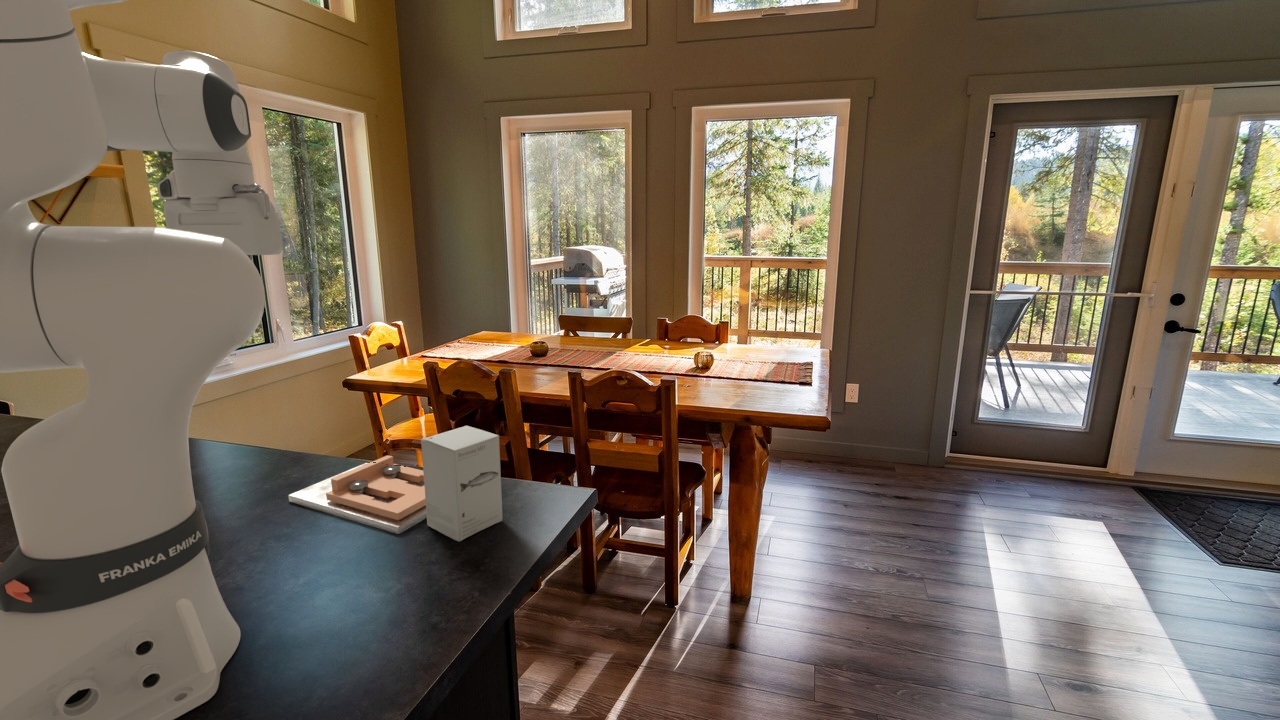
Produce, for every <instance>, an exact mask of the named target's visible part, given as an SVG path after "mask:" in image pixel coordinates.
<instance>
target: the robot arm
mask: <svg viewBox="0 0 1280 720" xmlns="http://www.w3.org/2000/svg"><path fill="white" fill-rule="evenodd" d="M124 2H129V0H0V374H6V373H18V372H19V373H20V372H32V371H33V372H34V371H45V370H59V369H84V371H85V375H86V379H87V391H86V395H85V398H84V399H83V400H81V401H79V402H77V403H75V404H73V405H70V406H68V407H66V408H64V409H62V410H60V411H58V412H56V413H54V414H53V415H50V416H48V417H47V418H45V419H43V420H41V421H39V422H38V423H35V424H33V425H32V426H30V427H29V428H28V429H26V430H25V431H23V432H22V433H21V434H20V435H18V436H17V437H16V439H15V440H14V441H13V442H12V443H11V444H10V445H9V447H8V448H7V451H6V452H5V455H4V457H3V459H2V464H1V469H0V470H1V475H2V479H3V483H4V488H5V492H6V496H7V499H8V503H9V507H10V512H11V514H12V515H11V516H12V520H13V523H14V527H15V532H16V536H17V539H18V543H19V544H18V545H17V546H16V548H15V549H14V551H13V552H12V553H11V554H10V555H9V556H8V557H7V559H6V560H4V561H3V562H0V720H175V719H177V718H179V717H181V716H182V715H185V714H186V713H188V712H189V711H192V710H194V709H195V708H197V707H199V706H201V705H202V704H204V703H206V702H208V701H209V700H211V698H213V696H215V695H216V693H217V691H218V689H219V685H220V679H221V672H222V670H223V669H224V667H225V666H226V665H227V663H228V662H229V660H230V659H231V658H232V656H233V655H234V654H235V652H236V650H237V648H238V646H239V643H240V641H241V636H242V635H241V633H242V632H241V629H240V627H239V624H238V623H237V622H236V620H235V619H234V617H233V616H232V614H231V613H230V611H229V609H228V608H227V606H226V603H225V601H224V600H223V597H222V594H221V593H220V590H219V588H218V585H217V582H216V579H215V577H214V574H213V571H212V568H211V567H212V566H211V563H210V561H209V557H208V556H209V555H210V553H211V552H210V551H211V546H210V545H211V544H210V540H209V529H208V524H207V521H206V519H205V518H206V517H205V514H204V508H203V505H202V503H201V502H200V501H199V500H197V499H195V493H194V486H193V479H192V469H191V460H190V459H191V458H190V446H189V445H190V444H189V442H190V441H189V425H190V418H191V415H192V414H191V413H192V410H193V408H194V407H193V406H194V404H195V401H196V400H197V396H198V395H199V392H200V391H201V390H202V387H203V385H204V384H205V382H206V381H207V380H208V378H209V376H210V375H211V374H212V373H213V371H214V370H216V368H218V366H219V365H220V364H221V363H222V362H223V361H224V360H225V359H226V358H227V357H229V355H231V354H233V352H235V351H236V350H238V349H239V348H240V347H242V346H243V345H244V344H245V343H246V342H247V341H248V340H249V339H250V338H251V336H252V335H254V333H255V332H256V330H257V328H258V327H259V325H260V323H261V321H262V318H263V315H264V312H265V310H264V309H265V305H266V294H265V286H264V283H263V280H262V277H261V275H260V273H259V270H258V268H257V267H256V265H255V263H254V262H253V260H252V259H251V258H250V257H249V256H272V255H273V256H277V255H280V254H281V252H282V250H283V246H284V243H283V236H282V232H281V227H280V222H279V219H278V215H277V211H276V208H275V206H274V204H273V202H271V200H270V197H269V194H268V193H267V192H266V191H265V190H264V189H263V188H262V186H261V185H260V184H256V182H255V176H254V168H253V163H252V160H251V157H250V155H249V153H248V149H247V142H248V141H249V140H250V138H251V137H252V130H251V123H250V116H249V109H248V104H247V101H246V99H245V97H244V95H242V94H241V92H240V87H239V84H238V81H237V79H236V75H235V72H234V70H233V68H232V67H231V66H230V65H229V64H228V63H227V62H225V61H224V60H222V59H220V58H218V57H216V56H213V55H212V54H211V55H210V54H208V53H204V52H201V51H196V50H185V49H184V50H181V49H180V50H173V51H169V52H167V53H165V54H164V55H163V57H162V61H161V63H162V64H153V63H152V64H151V63H144V62H143V63H140V62H133V61H131V62H130V61H121V60H111V59H106V58H101V57H98V56H94V55H91V54H88V53H85V52H84V51H83V50H82V47H81V44H80V41H79V37H78V35H77V31H76V28H75V26H74V22H73V19H72V16H71V13H70V12H71V11H73V10H78V9H82V8H83V9H84V8H87V7H93V6H94V7H95V6H101V5H102V6H103V5H112V4H113V5H114V4H118V3H124ZM130 150H131V151H142V152H143V151H146V152H164V153H165V152H168V153H172V154H171V161H172V167H173V169H172V170H171V171H170V172H169V174H168V175H167V176H165V177H164V179H162V180H161V181H159V182H158V183H157V186H156V190H157V195H158V197H159V198H160V199H161V200H166V201H165V202H164V204H163V215H164V220H165V225H166V226H165V227H162V226H95V225H94V226H89V225H88V226H87V225H86V226H83V225H81V226H80V225H79V226H78V225H77V226H75V225H73V226H71V225H70V226H69V225H66V226H64V225H54V224H47V223H46V224H44V223H41V222H40V221H38V220H37V219H36V217H35V216H34V214H33V213H32V211H31V209H30V206H29V203H28V202H30V201H32V200H35V199H37V198H39V197H42V196H46V195H49V194H52V193H54V192H57V191H60V190H62V189H65V188H67V187H68V186H72V185H73V184H75V183H77V182H79V181H81V180H82V179H84V178H85V177H87V176H89V175H90V174H91V173H92V172H93V171H94V170H96V169H97V168H98V167H99V166H100V164H101V163H102V161H103V160H104V158H105V156H106V153H107V152H114V151H115V152H117V151H118V152H119V151H130ZM248 255H249V256H248Z"/></svg>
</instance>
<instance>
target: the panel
mask: <svg viewBox="0 0 1280 720" xmlns="http://www.w3.org/2000/svg"><path fill="white" fill-rule="evenodd" d="M369 462H370V463H368V464H365V465H363V466H361V467H358V468H356V469H354V470H351V471H349V472H346V473H344V474H342V475H339V476H337V477H334V478H332V479H331V484H332V491H330V492H328V493H326V498H327V500H329V501H333V502H336V503H340V504H343V505H347V506H350V507H354V508H357V509H361V510H364V511H368V512H371V513H375V514H378V515H382V516H385V517H389V518H392V519H396V520H400V519H402V518H403V517H405V516H407V515H409V514H411V513H412V512H414V511H416V510H418V509H420V508H421V507H423V506H425V505H426V500H425V486H422V487H419V486H415V485H411V484H408V481H404V480H400V479H396V478H392V477H388V476H387V475H383V472H382V469H383V468H384V467H386V466H390V465H398V464H396V463H394V456H392V455H384V456H382V457H380V458H378V459H375V460H373V461H369ZM373 462H376V463H373ZM382 463H383V464H382ZM386 464H388V465H386ZM404 466H405V465H401V466H400V467H401V472H400V473H398V474H397V477H398V478H402V479H406V480H411V481H415V482H421V481H424V473H423V469H418V468H415V467H410V466H406V467H404ZM361 479H363V480H367V481H368V487H367V488H365V489H364V492H365V493H369V494H372V495H376V496H380V497H383V498H389V497H393V498H397V499H396V500H394V501H392V502H391V503H389V504H386V503H382V502H379V501H375V498H374V497H370V496H367V495H363V494H359V493H356V492H353V491H350V490H349V489H348V484H349V483H350V482H352V481H355V480H361Z"/></svg>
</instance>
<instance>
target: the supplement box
mask: <svg viewBox="0 0 1280 720" xmlns="http://www.w3.org/2000/svg"><path fill="white" fill-rule="evenodd" d="M420 443H421V444H420V445H421V457H422V458H421V459H422V470H423V473H424V486H425V500H426V513H427V518H426V525H427V526H428V527H429V528H431V529H433V530H435V531H437V532H439V533H440V534H443V536H446V537H448V538H450V539H452V540H454V541H456V542H459V543H460V542H462V541H464V540H465V539H466V538H468V537H471V536H473V535H475V534H476V533H478V532H481V531H483V530H485V529H487V528H489V527H491V526H493V525H495V524H498V523H500V522H503V519H504V518H503V517H504V516H503V499H502V498H503V497H502V495H503V494H502V493H503V492H502V477H501V474H502V473H501V456H500V455H501V453H500V435H499V434H495V433H492V432H489V431H486V430H484V429H480V428H476V427H472V426H469V425H464V426H461V427H457V428H454V429H451V430H447V431H444V432H441V433H438V434H433V435H431V436H428V437H423V438H421V439H420Z"/></svg>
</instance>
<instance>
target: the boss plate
mask: <svg viewBox="0 0 1280 720" xmlns="http://www.w3.org/2000/svg"><path fill="white" fill-rule="evenodd" d="M365 464H368V463H367V462H365V463H362V464H360V465H358V466H355V467H352V468H350V469H348V470H346V471H342V472H341V473H338V474H335V475H333V476H331V477H329V478H326V479H324V480H321V481H319V482H317V483H314V484H311V485H309V486H307V487H304V488H302V489H299V490H298V491H294V492H292V493H290V494H288V495H287V497H288V501H289V503H292V504H296V505H299V506H304V507H305V508H309V509H314V510H317V511H320V512H323V513H326V514H329V515H334V516H337V517H340V518H343V519H346V520H350V521H353V522H355V523H360V524H363V525H366V526H369V527H373V528H377V529H380V530H382V531H387V532H390V533H393V534H396V535H400V534H402V533H403V532H405V531H406V530H408V529H410V528H412V527H414V526H416V525H418V523H420V522H422V521H424V520H425V519H426V520H427V513H426V505H425V506H423V507H421V508H420V509H418V510H416V511H414V512H412V513H411V514H409V515H407V516H405V517H403V518H402V519H400V520H396V519H392V518H389V517H385V516H382V515H378V514H375V513H371V512H368V511H364V510H361V509H357V508H354V507H350V506H347V505H343V504H340V503H336V502H333V501H329V500H327V498H326V493H328V492H330V491H332V484H331V479H332V478H334V477H337V476H339V475H342V474H344V473H346V472H349V471H351V470H354V469H356V468H358V467H361V466H363V465H365ZM382 472H383V475H387V476H388V477H392V478H396V479H400V480H404V481H408V484H411V485H415V486H419V487H422V486H424V481H421V482H415V481H411V480H406V479H402V478H398V477H397V474H398V473H400V472H401V467H400V466H394V465H390V466H386V467H384V468H383V469H382ZM367 487H368V481H367V480H363V479H361V480H355V481H352V482H350V483H349V484H348V489H349V490H350V491H353V492H356V493H359V494H363V495H367V496H370V497H374V498H375V501H379V502H382V503H386V504H389V503H391V502H392V501H394V500H396V499H397V498H393V497H389V498H383V497H380V496H376V495H372V494H369V493H365V492H364V489H365V488H367Z"/></svg>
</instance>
